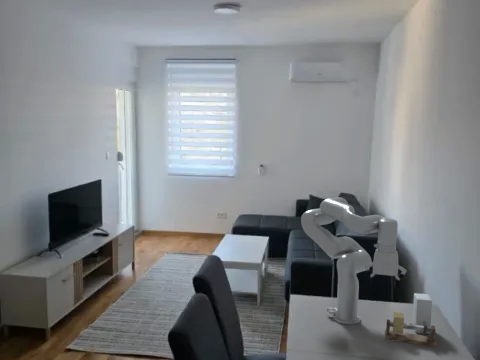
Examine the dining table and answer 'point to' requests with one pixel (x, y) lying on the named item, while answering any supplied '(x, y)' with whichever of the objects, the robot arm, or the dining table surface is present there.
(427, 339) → the rod stand
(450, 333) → the dining table surface
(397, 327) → the yellow rectangular block
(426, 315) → the skincare box
